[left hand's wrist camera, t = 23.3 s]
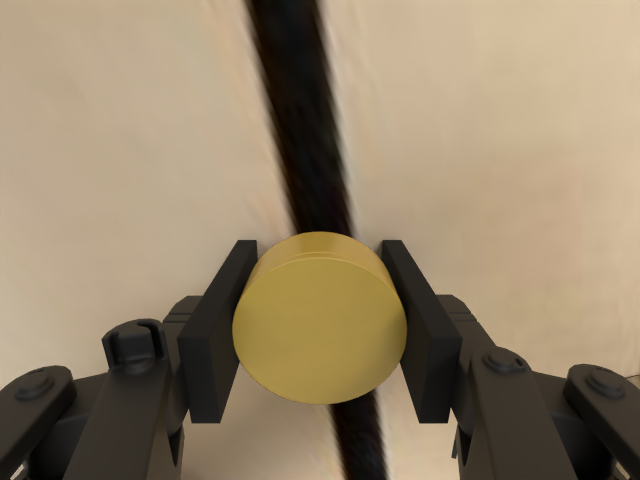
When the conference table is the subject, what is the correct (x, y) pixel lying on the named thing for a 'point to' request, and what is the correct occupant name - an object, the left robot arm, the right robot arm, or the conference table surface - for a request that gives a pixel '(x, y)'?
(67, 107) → the conference table surface
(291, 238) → the lid
